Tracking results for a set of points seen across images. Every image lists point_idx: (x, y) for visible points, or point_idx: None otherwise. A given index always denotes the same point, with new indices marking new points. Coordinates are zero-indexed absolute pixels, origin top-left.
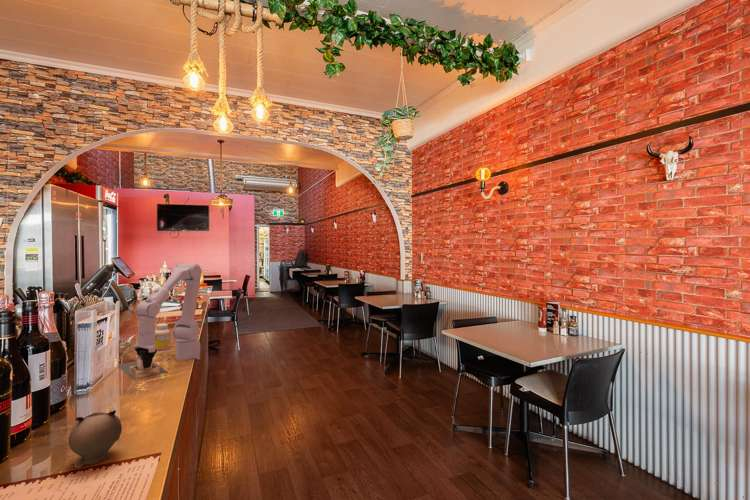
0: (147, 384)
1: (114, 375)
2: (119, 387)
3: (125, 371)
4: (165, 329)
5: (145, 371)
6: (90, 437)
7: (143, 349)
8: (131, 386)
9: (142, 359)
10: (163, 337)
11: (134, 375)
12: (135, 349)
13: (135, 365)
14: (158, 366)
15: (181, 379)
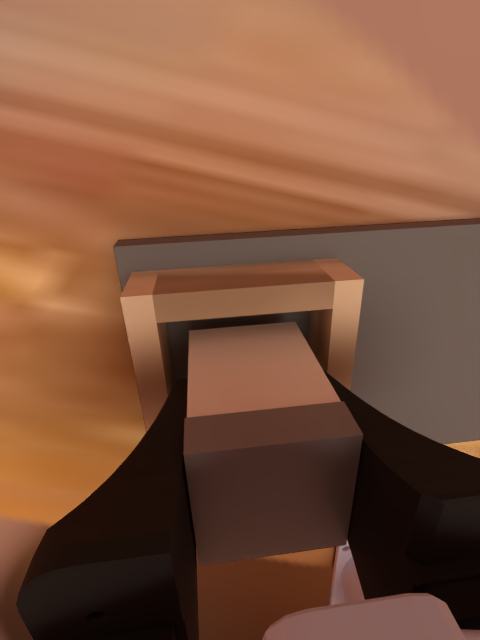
0: (2, 321)
1: (435, 142)
2: (34, 95)
3: (411, 238)
4: None
5: (137, 370)
6: None
7: (388, 560)
8: (10, 202)
9: (177, 440)
10: None
11: (186, 274)
12: (458, 486)
13: None
14: None
15: (8, 505)
